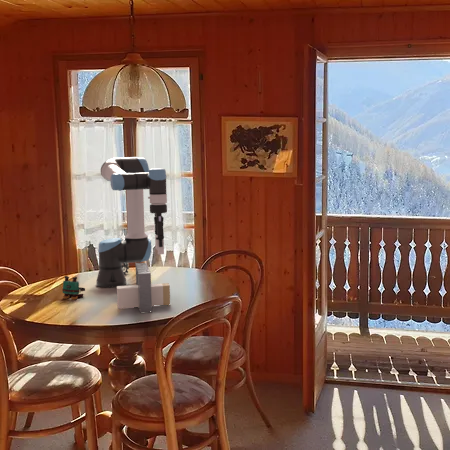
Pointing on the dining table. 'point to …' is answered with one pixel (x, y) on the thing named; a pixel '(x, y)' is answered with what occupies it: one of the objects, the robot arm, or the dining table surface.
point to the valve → (125, 268)
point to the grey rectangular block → (130, 299)
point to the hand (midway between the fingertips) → (159, 251)
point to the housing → (144, 287)
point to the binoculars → (71, 288)
